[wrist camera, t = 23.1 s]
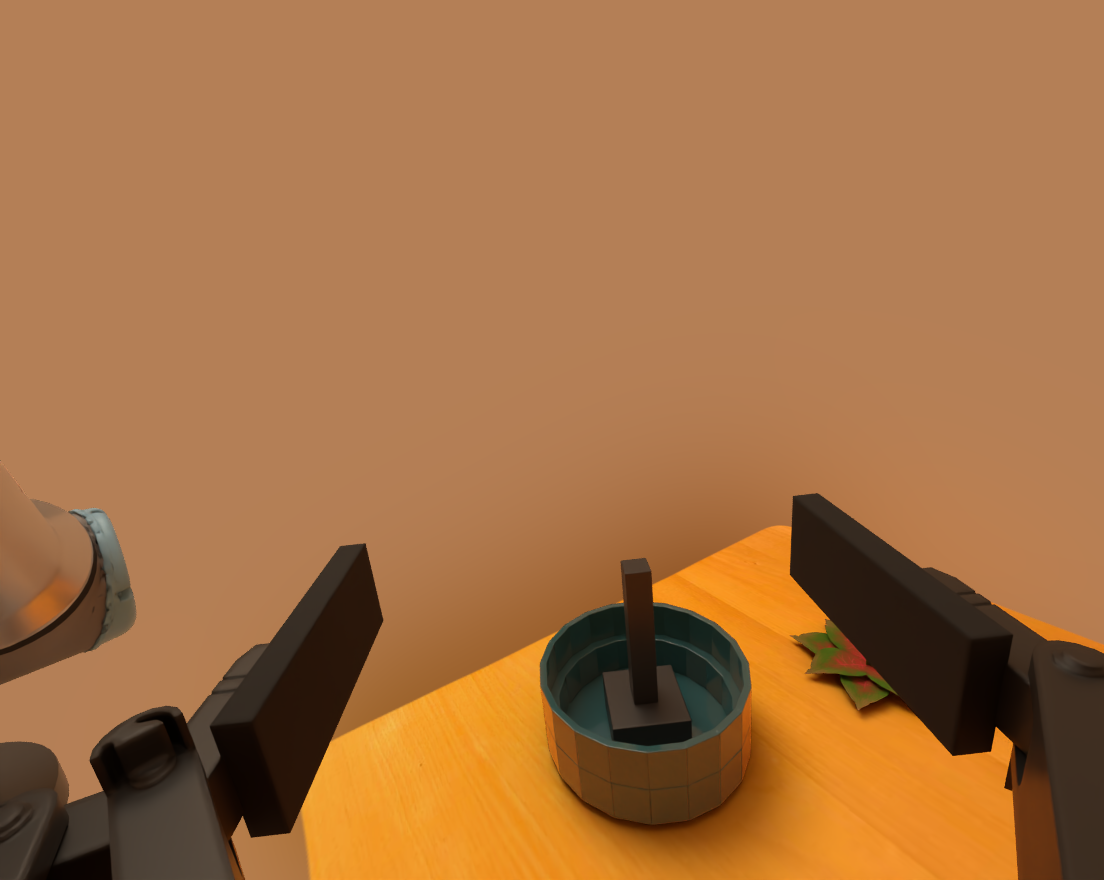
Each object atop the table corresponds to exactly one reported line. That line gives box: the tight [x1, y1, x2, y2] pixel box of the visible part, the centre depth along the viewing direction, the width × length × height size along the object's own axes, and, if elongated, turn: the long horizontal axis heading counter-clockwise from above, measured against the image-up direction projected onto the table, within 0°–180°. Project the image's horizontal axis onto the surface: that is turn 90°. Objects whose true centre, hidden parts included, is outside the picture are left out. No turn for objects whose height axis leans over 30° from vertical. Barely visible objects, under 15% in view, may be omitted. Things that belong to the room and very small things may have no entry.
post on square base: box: [602, 558, 692, 746], centre depth 37 cm, size 6×6×14 cm
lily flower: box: [789, 619, 898, 710], centre depth 43 cm, size 12×12×5 cm
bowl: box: [540, 602, 751, 825], centre depth 39 cm, size 15×15×6 cm
